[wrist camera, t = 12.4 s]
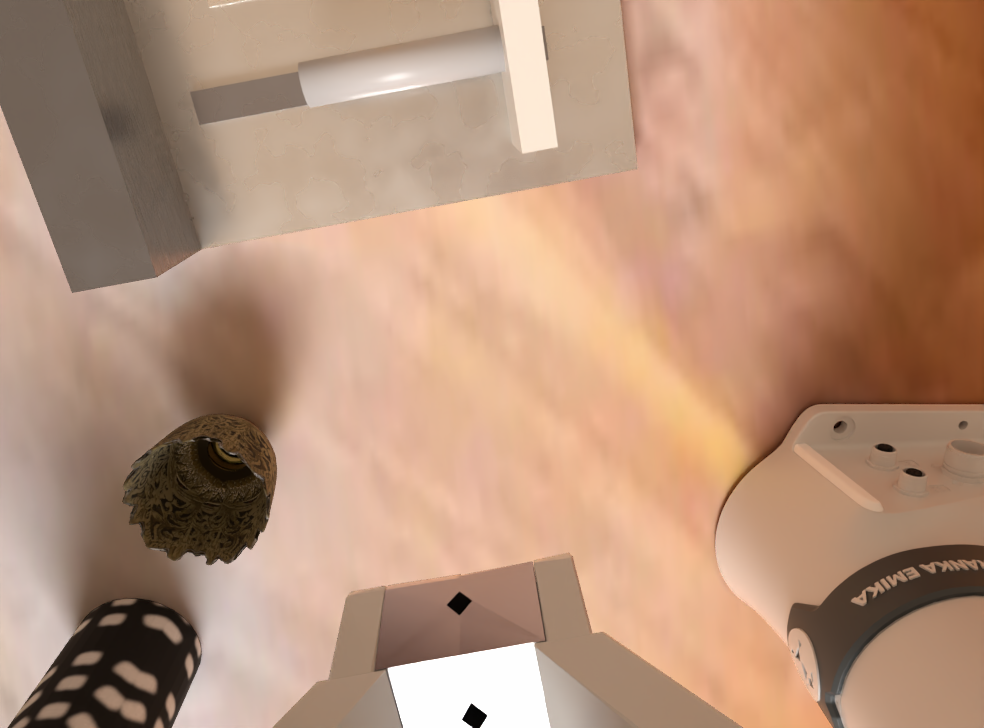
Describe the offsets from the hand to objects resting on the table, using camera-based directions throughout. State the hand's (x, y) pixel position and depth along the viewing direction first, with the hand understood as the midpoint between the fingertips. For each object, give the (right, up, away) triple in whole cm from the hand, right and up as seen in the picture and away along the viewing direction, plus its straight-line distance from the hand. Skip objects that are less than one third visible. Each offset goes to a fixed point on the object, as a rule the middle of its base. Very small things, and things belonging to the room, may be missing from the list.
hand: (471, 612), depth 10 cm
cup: (-15, -1, +36) cm, 40 cm away
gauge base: (-7, +18, +29) cm, 35 cm away
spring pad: (-3, +19, +27) cm, 33 cm away
